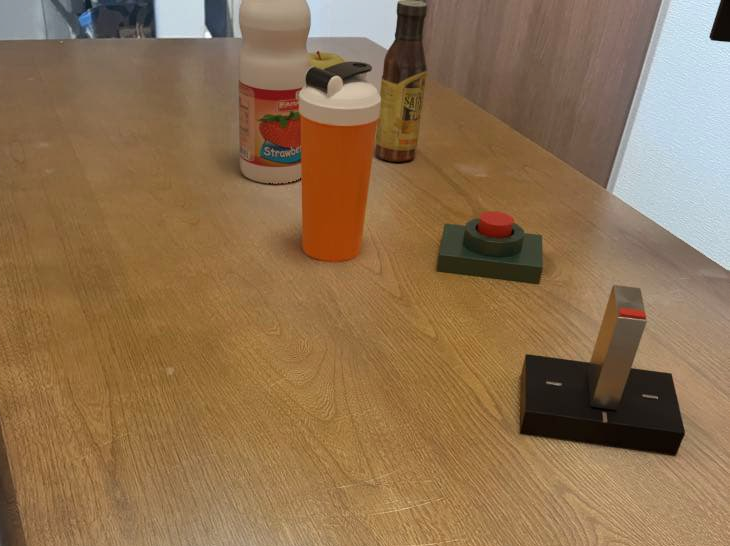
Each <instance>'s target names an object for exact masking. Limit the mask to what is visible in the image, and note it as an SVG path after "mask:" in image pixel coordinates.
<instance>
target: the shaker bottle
mask: <svg viewBox="0 0 730 546" xmlns="http://www.w3.org/2000/svg"><path fill="white" fill-rule="evenodd" d="M372 70H373V67H372V65H371V64H369V63H367V62H361V61H345V62H343V63H339V64H336V65H333V66H330V67H328V68H325V69H323V70H322V69H320V68H317V67H310V68H309V69H308V70H307V72H306V74H305V86H304V87H303V88H302V90H301V91H300V93H299V110H298V112H299V114H300V115H301V174H302V178H301V224H302V225H301V239H302V240H301V243H302V246H301V247H302V251H303V252H304V253H305V254H306V255H307V256H308V257H310V258H312V259H315V260H317V261H322V262H331V263H336V262H338V263H339V262H346V261H350V260H353V259H355V258H356V257H358V255H360V253H361V250H362V243H363V235H364V227H365V218H366V212H367V211H366V210H367V202H368V197H369V195H368V194H369V187H370V181H371V172H372V163H373V157H374V148H375V143H376V142H375V139H376V129H377V120H378V119H379V117H380V107H381V97H380V92H379V91H378V90H377V88H376V87H375V86H374V85H373V83H371V82H370V81H368V80H367V74H368V73H369V72H371V71H372Z"/></svg>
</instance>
